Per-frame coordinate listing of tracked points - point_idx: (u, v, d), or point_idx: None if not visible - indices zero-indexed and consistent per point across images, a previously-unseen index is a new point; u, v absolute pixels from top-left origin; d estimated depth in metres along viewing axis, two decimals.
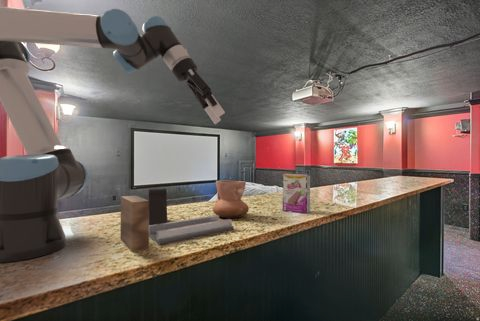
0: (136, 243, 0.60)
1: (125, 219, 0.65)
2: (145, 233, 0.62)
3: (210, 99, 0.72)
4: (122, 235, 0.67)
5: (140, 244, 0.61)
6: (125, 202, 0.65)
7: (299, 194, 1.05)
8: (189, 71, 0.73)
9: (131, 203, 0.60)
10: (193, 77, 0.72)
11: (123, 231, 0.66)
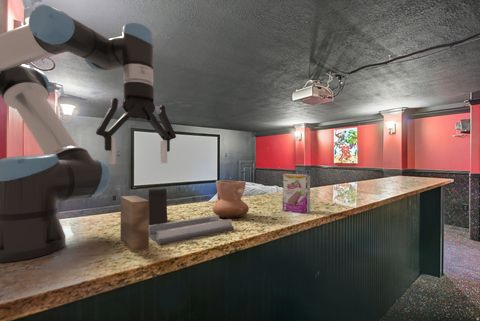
0: (136, 243, 0.60)
1: (125, 219, 0.65)
2: (145, 233, 0.62)
3: (105, 142, 0.61)
4: (122, 235, 0.67)
5: (140, 244, 0.61)
6: (125, 202, 0.65)
7: (299, 194, 1.05)
8: (111, 101, 0.62)
9: (131, 203, 0.60)
10: (108, 110, 0.62)
11: (123, 231, 0.66)
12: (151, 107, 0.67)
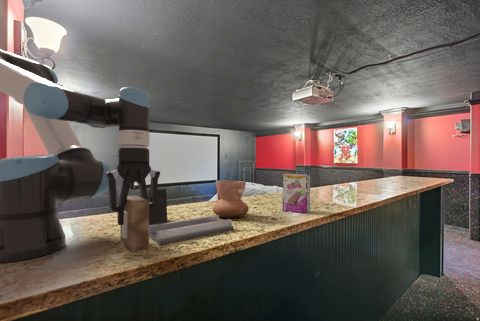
0: (136, 243, 0.60)
1: None
2: (145, 233, 0.61)
3: None
4: None
5: (140, 244, 0.61)
6: None
7: (299, 194, 1.05)
8: (106, 175, 0.62)
9: (131, 203, 0.60)
10: (109, 184, 0.62)
11: None
12: (146, 169, 0.67)
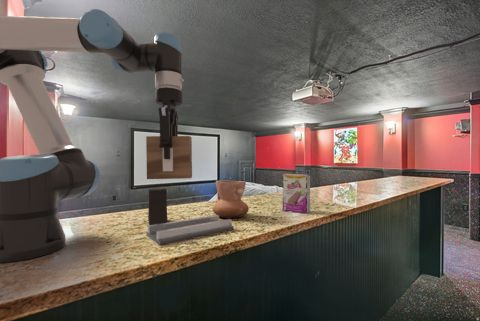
0: (190, 171, 0.70)
1: None
2: (191, 164, 0.73)
3: (165, 151, 0.67)
4: (154, 173, 0.69)
5: (191, 173, 0.71)
6: None
7: (299, 194, 1.05)
8: (162, 110, 0.65)
9: (186, 137, 0.69)
10: (162, 119, 0.65)
11: (158, 168, 0.69)
12: None
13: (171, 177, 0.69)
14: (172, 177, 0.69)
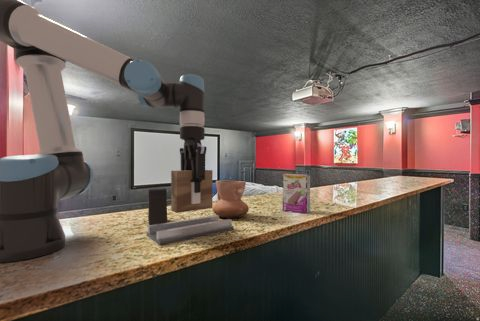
0: None
1: None
2: None
3: (197, 186, 0.73)
4: (183, 206, 0.72)
5: None
6: None
7: (299, 194, 1.05)
8: (201, 149, 0.71)
9: (210, 171, 0.78)
10: (200, 157, 0.71)
11: (187, 201, 0.73)
12: None
13: (197, 208, 0.75)
14: (198, 208, 0.75)
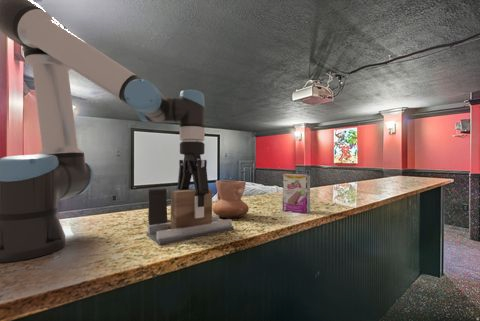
0: None
1: (193, 208, 0.74)
2: None
3: (201, 199, 0.71)
4: None
5: None
6: (193, 194, 0.74)
7: (299, 194, 1.05)
8: (202, 162, 0.71)
9: (210, 190, 0.78)
10: (201, 170, 0.70)
11: (187, 221, 0.73)
12: None
13: None
14: None
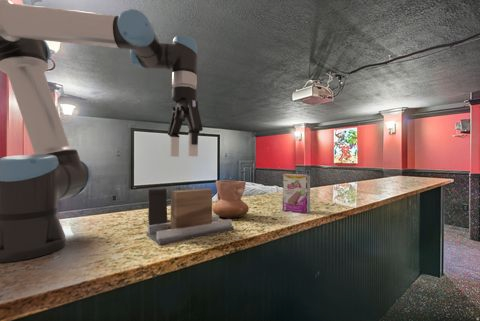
0: None
1: (193, 208, 0.74)
2: None
3: (194, 137, 0.70)
4: None
5: None
6: (193, 194, 0.74)
7: (299, 194, 1.05)
8: (193, 101, 0.71)
9: (210, 190, 0.78)
10: (193, 109, 0.71)
11: (187, 221, 0.73)
12: None
13: None
14: None
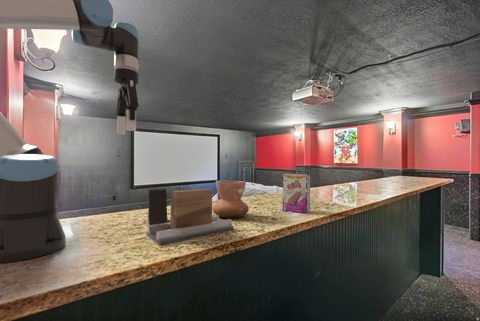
0: None
1: (193, 208, 0.74)
2: None
3: (131, 113, 0.78)
4: None
5: None
6: (193, 194, 0.74)
7: (299, 194, 1.05)
8: (130, 81, 0.79)
9: (210, 190, 0.78)
10: (130, 88, 0.79)
11: (187, 221, 0.73)
12: None
13: None
14: None
